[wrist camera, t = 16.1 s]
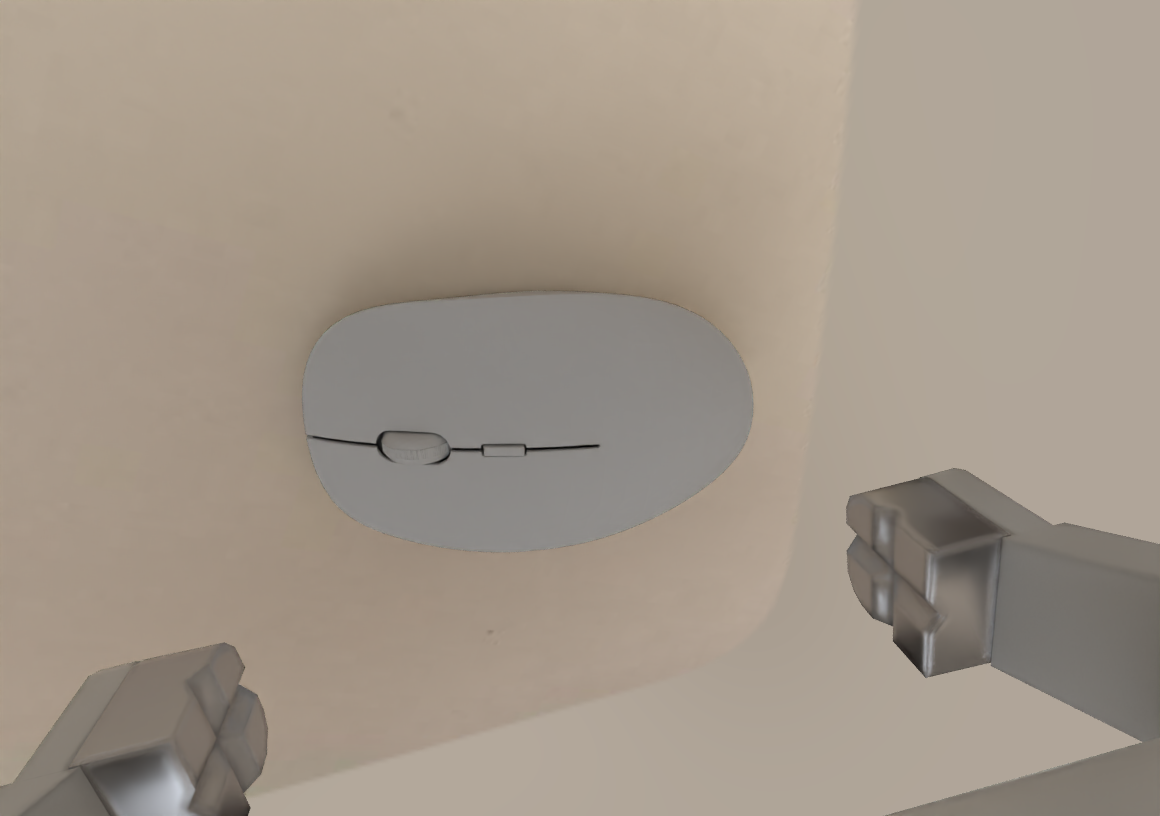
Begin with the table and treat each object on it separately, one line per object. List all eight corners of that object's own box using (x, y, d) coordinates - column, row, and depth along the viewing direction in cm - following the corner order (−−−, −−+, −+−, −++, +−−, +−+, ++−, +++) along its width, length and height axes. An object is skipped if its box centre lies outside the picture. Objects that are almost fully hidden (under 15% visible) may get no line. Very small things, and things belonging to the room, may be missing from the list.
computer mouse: (290, 292, 15) (252, 326, 12) (728, 265, 16) (783, 289, 13) (336, 530, 17) (311, 605, 14) (717, 488, 18) (764, 549, 16)
